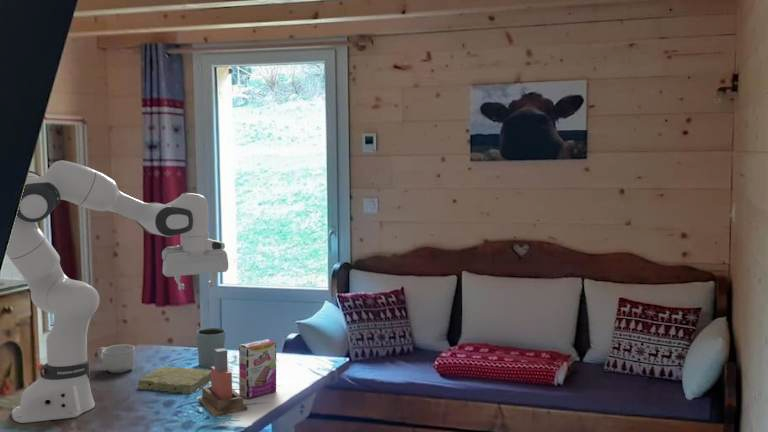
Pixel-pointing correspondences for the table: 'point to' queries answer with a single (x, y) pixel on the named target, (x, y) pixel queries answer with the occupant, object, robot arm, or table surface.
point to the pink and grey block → (221, 375)
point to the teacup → (118, 357)
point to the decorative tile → (175, 379)
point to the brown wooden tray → (221, 402)
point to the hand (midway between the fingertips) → (196, 288)
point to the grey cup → (209, 344)
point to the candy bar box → (257, 368)
